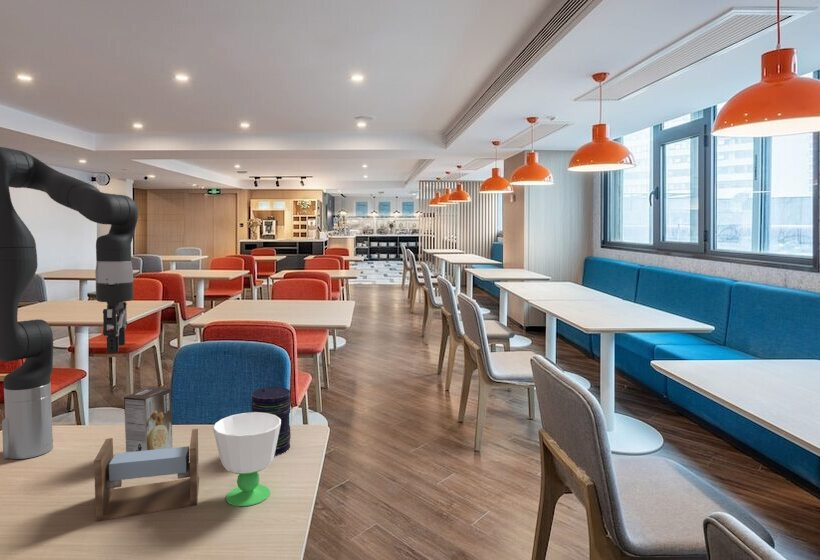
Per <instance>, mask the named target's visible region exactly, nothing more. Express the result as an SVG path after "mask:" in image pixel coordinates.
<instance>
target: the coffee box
mask: <svg viewBox="0 0 820 560" xmlns="http://www.w3.org/2000/svg"><path fill="white" fill-rule="evenodd" d="M171 390H172V388H171V387H158V386H155V387H154V386H149V387H148V386H147V387H146V388H143V389H141V390H139V391H136V392H134V393H131V394H129V395H126V396H123V403H124V431H125V432H124V434H125V452H135V451H146V450H156V449H166V448H173V423H172V421H173V419H172V414H173V413H172V391H171Z"/></svg>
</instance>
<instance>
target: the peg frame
mask: <svg viewBox="0 0 820 560" xmlns="http://www.w3.org/2000/svg"><path fill="white" fill-rule="evenodd" d="M190 435H191V436H190V441H189V443H190V444H189V465H188V468H187V472H186V473H179V474H177V479H174V480H169V481H160V482H155V483H154V482H153V483H146V484H142V485H141V484H139V485H132V486H126V487H122V481H123V480H116V481H109V463H110V462H111V460H112V459H113V457H114V442H113V441H114V440H113V439H114V438H113V437H111V438H110V437H109V438H106V439H104V442H103V444H102V445H101V447H100V449H99V451H98V453H97V455H96V456H95V459H93V469H94V471H93V472H94V499H95V500H94V501H95V516H94V517H95V519H94V520H95V522H99V521H104V520H111V519H118V518H125V517H130V516H134V515H135V516H136V515H142V514H149V513H155V512H160V511H166V510H174V509H179V508H185V507H186V508H187V507H191V506H198V503H199V502H198V499H199V487H200V475H199V470H200V469H199V428H193V429H191V433H190Z"/></svg>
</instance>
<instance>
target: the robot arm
mask: <svg viewBox="0 0 820 560" xmlns="http://www.w3.org/2000/svg"><path fill="white" fill-rule="evenodd" d="M10 188H14V189H15V188H16V189H21V188H24V189H31V190H36V191H41V192H44V193H46V194H47V196H48V197H49V198H50V199H52V200H53V201H54V202H56V203H57V204H60V205H61V206H64V207H66V208H69V209H71V210H74V211H75V212H78V213H79V214H80V215H82V216H83V217H84V218H86V219H87V220H89V221H91V222H94V223H97V224H100V225H108V226H110V227H109V231H108V233H107V234H104V235H100V236H99V237H97V238H96V241H95V242H96V243H95V255H96V256H95V257H96V258H95V260H96V263H95V272H94V273H95V300H96V301H97V302H99V303H106V304H107V305H106V308H104V309H103V310H102V313H103V315H102V316H103V317H102V319H103V326H102V327H103V332H102V335H103V337H105V338H106V352H107V354H111V355H112V354H118V353H119V352H120V350H119V349H120V348H119V346H120V347H121V346H125V344H126V330H127V329H126V328H127V325H128V316H127V310H128V309H127V305H128V303H127V302H131V301H133V299H134V270H133V263H132V241H133V239H134V234H135V232H136V226H137V223H138V219H139V211H138V210H139V209H138V206H137V204H136V202H135V200H134V199H133V198H131V197H130V196H128V195H124V194H115V193H107V192H103V191H100V189H98V187H96V186H95V185H93V184H91V183H89V182H86V181H84V180H80V179H78V178H75V177H73V176H71V175H68V174H66V173H63V172H60V171H58V170H57V169H55V168H52V167H51V166H49V165H47V164H46V163H44V162H43V161H42V160H40V159H39V158H37V157H35V156H33V155H32V154H30V153H28V152H26V151H23V150H18V149H14V148H10V147H9V148H8V147H3V146H0V361H1V362H12V361H20V360H24V362H23V363H22V364H21V365H20V366H18V367H17V368H16V369H14V370H12V371H10V372H9V373H8V374H6V375H5V376H4V378H3V394H4V396H3V397H4V415H5V417H4V418H3V419H2V420H1V431H2V433H1V435H2V436H1V437H2V453H3V460H4V459H11V460H24V459H29V458H30V459H31V458H35V457H38V456H41V455H44V454H46V453H48V452H50V451H52V450H53V448H54V438H53V437H54V436H53V434H54V433H53V432H54V431H53V414H52V411H53V410H52V409H53V408H52V407H53V406H52V387H51V386H52V385H51V384H52V382H51V377H52V374H53V373H52V372H53V369H54V366H53V364H54V363H53V359H54V356H53V355H54V335H53V330H52V327H51V326H50V324H49V323H48V322H47V321H46V320H44V319H30V320H22V321H21V320H20V321H18V312H19V311H18V310H19V305H20V301H21V298H22V296H23V294H24V293H25V291H26V290H27V288H28V286H29V285H30V283H31V282H32V280H33V278H34V276H35V275H36V272H37V270H38V251H37V244H36V243H37V242H36V240H35V237H34V236H33V234H32V232H31V231H30V229H29V227H28V226H27V225H26V224H25V222H24V220H23V219H22V218H21V217H20V216H19V214H18V213H17V211H16V209H15V207H14V205H13V203H12V199H11V192H10Z"/></svg>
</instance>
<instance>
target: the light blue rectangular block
mask: <svg viewBox="0 0 820 560" xmlns="http://www.w3.org/2000/svg"><path fill="white" fill-rule="evenodd" d="M189 463H190V445H188V446H178V447H172V448H166V449H156V450H146V451H135V452H126V451H125V452H116V453H115V455H113V459H112V460H111V462H110V463H109V481H116V480H122V481H124V480H131V479H133V480H134V479H141V478H142V479H143V478H151V477H160V476H161V477H162V476H168V475H178V474H179V473H186V472H187V468H188V465H189Z"/></svg>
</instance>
